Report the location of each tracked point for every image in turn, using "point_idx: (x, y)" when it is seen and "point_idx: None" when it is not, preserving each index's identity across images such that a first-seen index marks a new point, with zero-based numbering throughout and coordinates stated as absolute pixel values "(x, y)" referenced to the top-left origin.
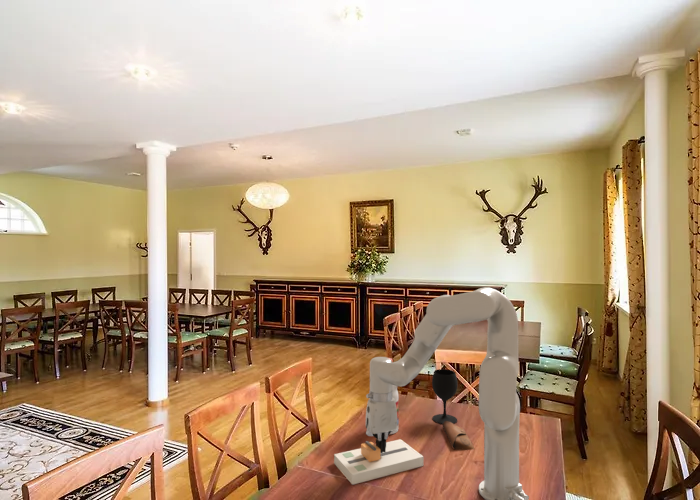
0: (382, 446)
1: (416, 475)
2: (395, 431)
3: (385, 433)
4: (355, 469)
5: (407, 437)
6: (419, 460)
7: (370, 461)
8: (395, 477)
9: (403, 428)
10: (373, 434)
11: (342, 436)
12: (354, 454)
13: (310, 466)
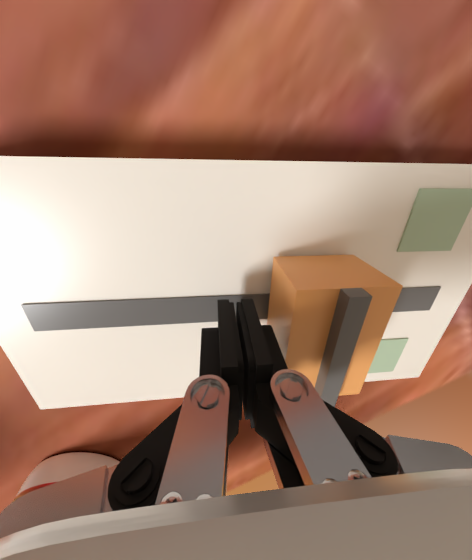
0: (249, 326)
1: (64, 49)
2: (49, 462)
3: (218, 455)
4: (468, 218)
5: (4, 424)
6: None
7: (347, 255)
8: (227, 111)
9: (6, 472)
10: (394, 459)
11: (255, 463)
12: None
13: (461, 354)
